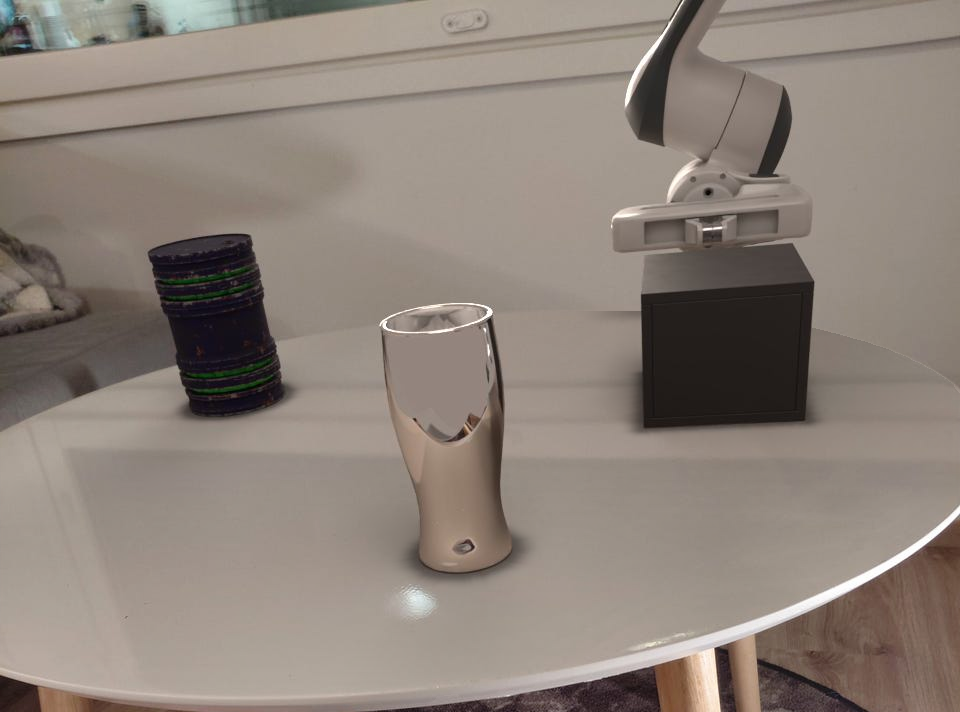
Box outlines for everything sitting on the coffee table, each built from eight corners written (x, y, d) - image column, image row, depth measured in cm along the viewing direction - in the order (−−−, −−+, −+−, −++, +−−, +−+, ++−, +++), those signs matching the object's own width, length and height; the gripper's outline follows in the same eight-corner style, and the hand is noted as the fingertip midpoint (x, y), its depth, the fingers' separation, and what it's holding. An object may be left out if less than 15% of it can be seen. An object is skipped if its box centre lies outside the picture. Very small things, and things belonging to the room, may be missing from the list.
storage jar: (172, 419, 95) (126, 259, 87) (211, 387, 103) (172, 238, 96) (267, 413, 93) (230, 250, 86) (299, 382, 102) (267, 229, 94)
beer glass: (404, 540, 66) (367, 314, 58) (503, 520, 67) (480, 296, 59) (424, 585, 60) (385, 341, 52) (532, 563, 61) (510, 320, 53)
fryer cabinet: (646, 373, 91) (643, 255, 86) (785, 365, 89) (792, 242, 83) (643, 428, 79) (640, 294, 74) (805, 420, 77) (814, 281, 71)
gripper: (611, 191, 108) (604, 211, 96) (804, 172, 104) (821, 191, 92) (613, 251, 111) (607, 278, 99) (800, 235, 107) (817, 260, 95)
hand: (712, 236), depth 96 cm, fingers closed
